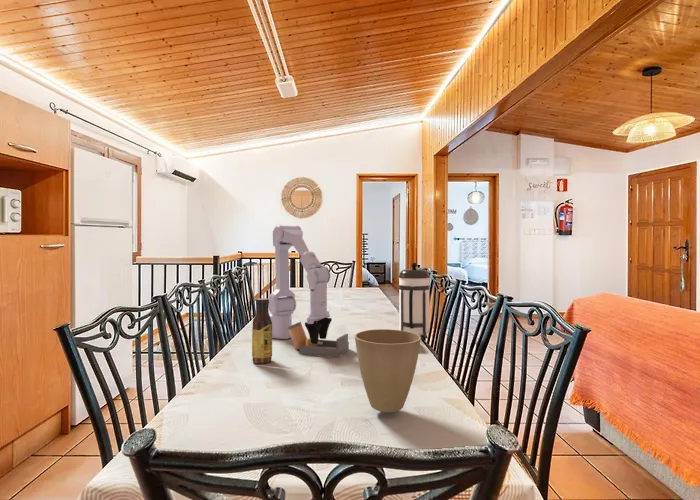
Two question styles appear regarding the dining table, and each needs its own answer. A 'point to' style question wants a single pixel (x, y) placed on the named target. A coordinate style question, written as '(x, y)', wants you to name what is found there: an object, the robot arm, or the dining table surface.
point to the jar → (297, 335)
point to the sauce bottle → (262, 333)
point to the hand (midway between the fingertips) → (318, 340)
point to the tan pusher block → (308, 343)
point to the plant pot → (387, 366)
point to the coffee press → (414, 301)
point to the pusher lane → (327, 347)
